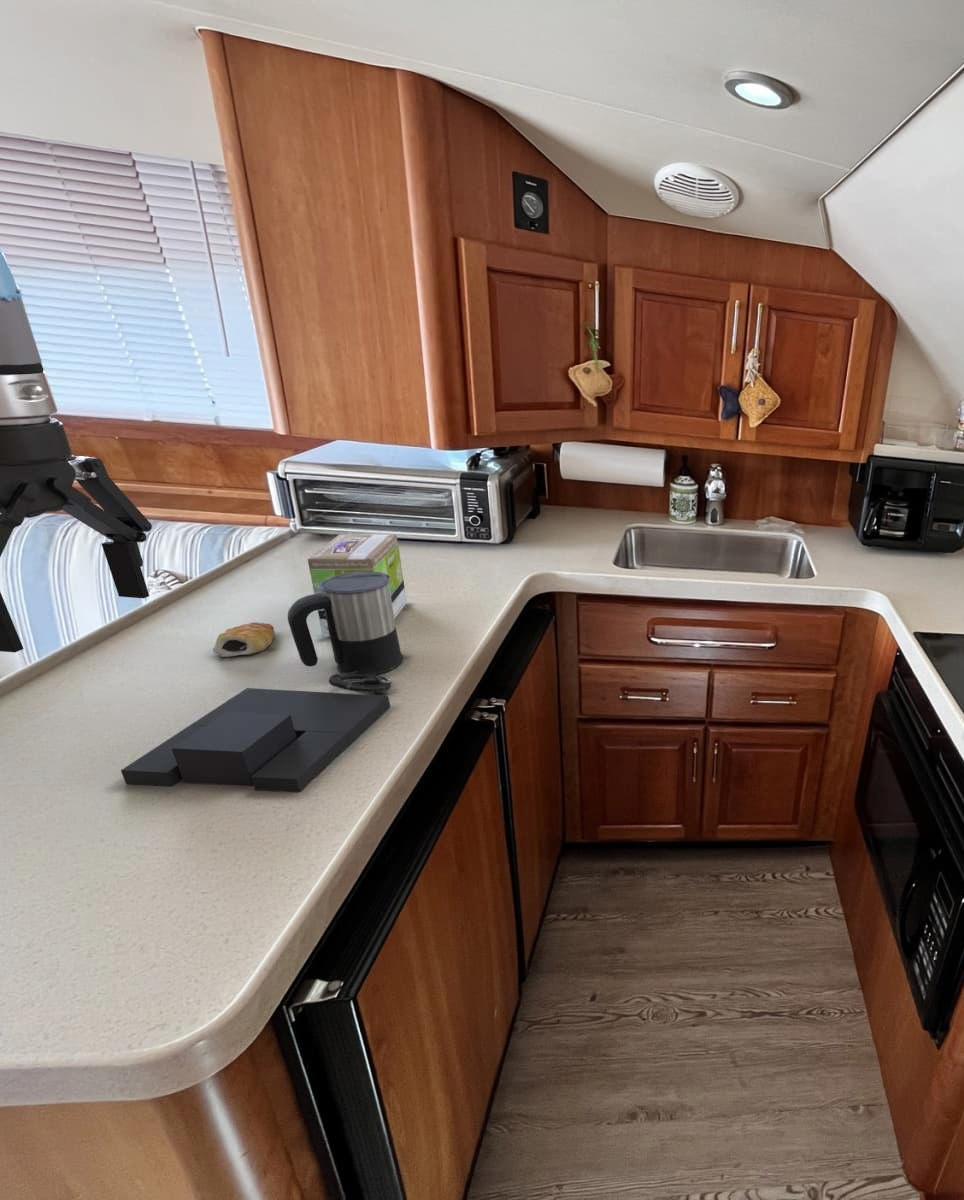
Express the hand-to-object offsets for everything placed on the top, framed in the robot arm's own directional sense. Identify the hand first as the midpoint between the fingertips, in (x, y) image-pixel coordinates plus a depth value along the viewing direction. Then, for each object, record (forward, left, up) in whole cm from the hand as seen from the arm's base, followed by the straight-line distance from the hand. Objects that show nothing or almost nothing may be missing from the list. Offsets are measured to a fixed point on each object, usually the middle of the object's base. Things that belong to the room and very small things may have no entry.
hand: (75, 620), depth 68 cm
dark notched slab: (+9, +9, -21) cm, 25 cm away
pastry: (-13, +34, -21) cm, 42 cm away
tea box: (-1, +47, -21) cm, 51 cm away
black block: (+9, +4, -21) cm, 23 cm away
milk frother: (+11, +27, -21) cm, 36 cm away
